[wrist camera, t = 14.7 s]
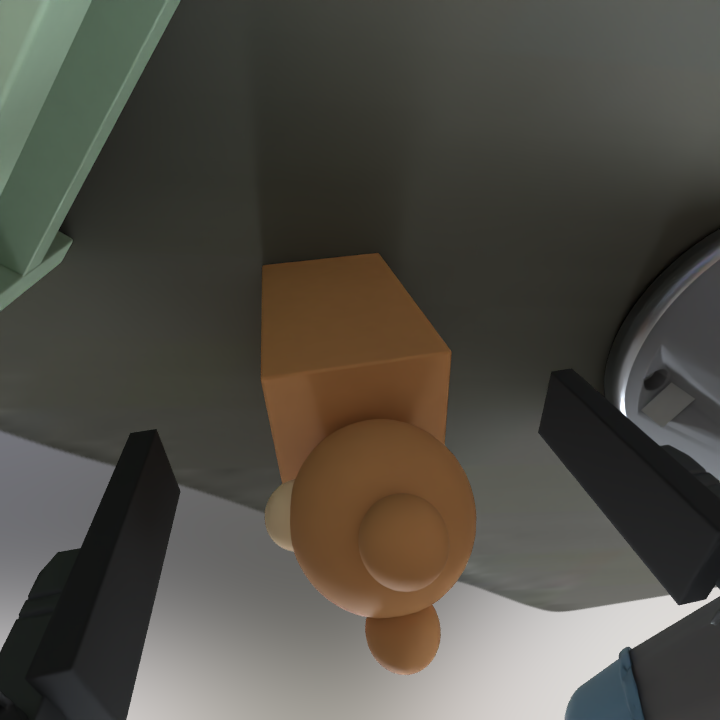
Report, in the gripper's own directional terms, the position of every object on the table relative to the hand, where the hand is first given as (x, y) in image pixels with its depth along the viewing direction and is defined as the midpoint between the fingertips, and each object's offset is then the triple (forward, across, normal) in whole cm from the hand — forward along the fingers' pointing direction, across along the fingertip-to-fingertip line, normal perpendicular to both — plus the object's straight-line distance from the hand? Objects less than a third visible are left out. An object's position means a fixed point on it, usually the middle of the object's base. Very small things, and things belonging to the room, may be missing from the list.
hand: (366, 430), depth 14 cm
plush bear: (+8, 0, 0) cm, 8 cm away
